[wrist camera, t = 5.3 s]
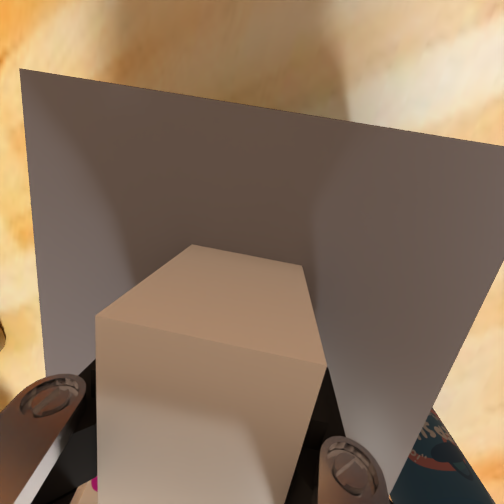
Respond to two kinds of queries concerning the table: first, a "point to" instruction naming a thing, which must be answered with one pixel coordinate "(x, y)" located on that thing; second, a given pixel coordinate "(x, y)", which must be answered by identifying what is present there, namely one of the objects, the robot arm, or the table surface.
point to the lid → (249, 279)
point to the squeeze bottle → (2, 340)
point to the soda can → (438, 471)
